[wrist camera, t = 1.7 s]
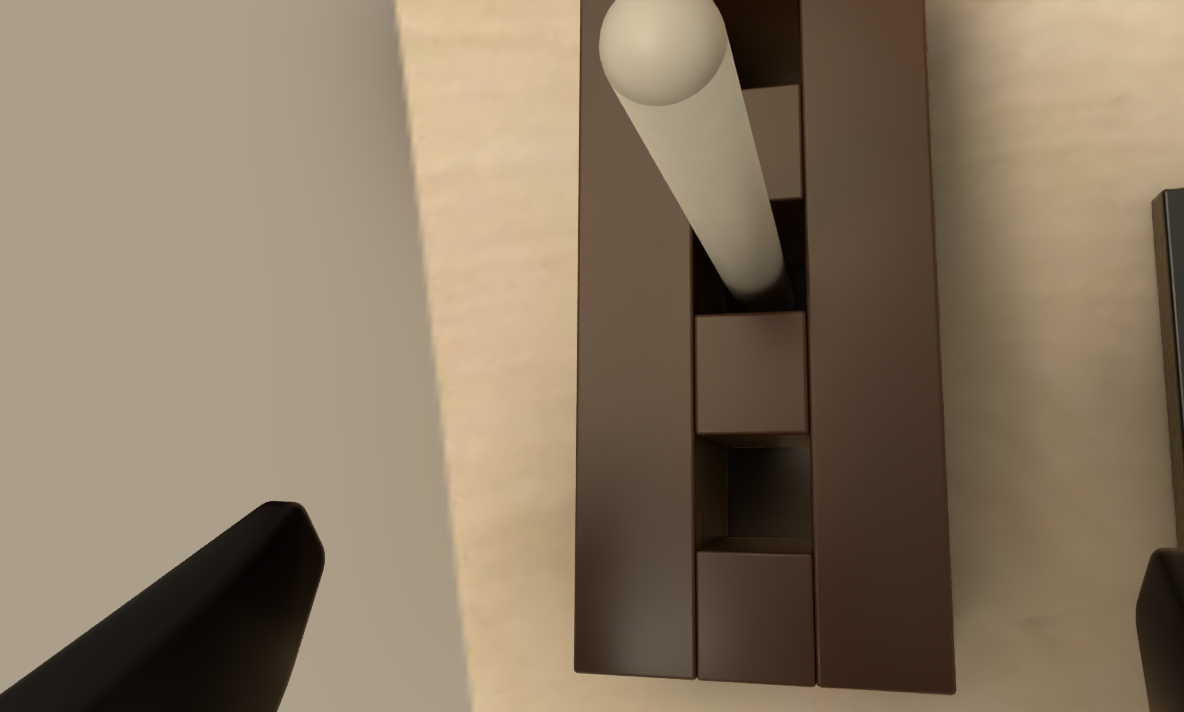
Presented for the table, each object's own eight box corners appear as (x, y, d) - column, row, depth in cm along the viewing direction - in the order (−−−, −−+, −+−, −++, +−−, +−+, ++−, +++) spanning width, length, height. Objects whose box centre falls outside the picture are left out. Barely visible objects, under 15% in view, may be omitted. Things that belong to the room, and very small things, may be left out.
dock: (902, -10, 22) (918, -150, 17) (929, 646, 20) (957, 696, 15) (633, 23, 23) (580, -97, 19) (633, 632, 21) (572, 673, 17)
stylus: (795, 333, 21) (719, 71, 8) (743, 334, 22) (584, 86, 8) (795, 281, 22) (716, -58, 8) (742, 284, 22) (584, -40, 8)
